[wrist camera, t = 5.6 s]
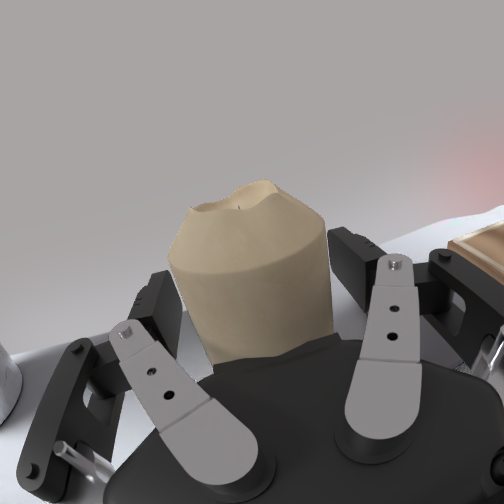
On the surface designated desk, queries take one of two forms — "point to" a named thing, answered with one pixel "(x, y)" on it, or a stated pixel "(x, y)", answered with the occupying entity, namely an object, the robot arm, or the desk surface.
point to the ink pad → (438, 342)
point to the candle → (254, 273)
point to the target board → (483, 249)
